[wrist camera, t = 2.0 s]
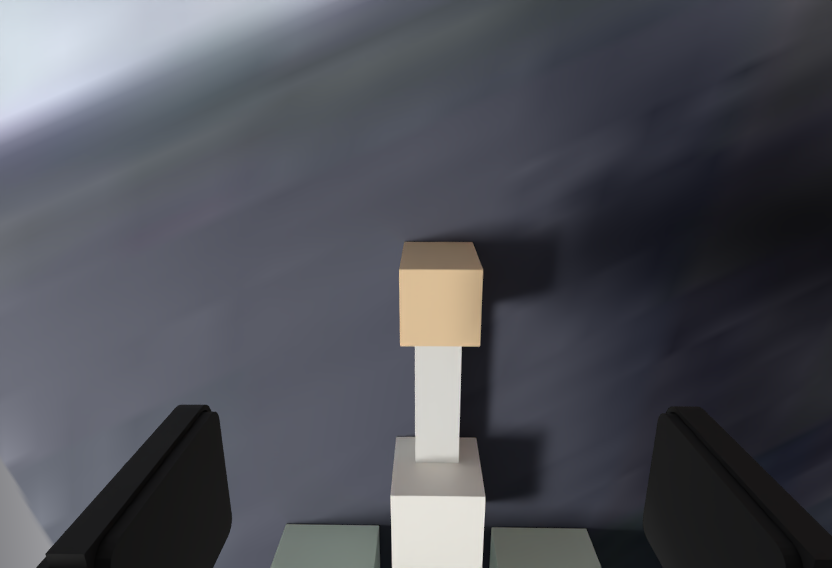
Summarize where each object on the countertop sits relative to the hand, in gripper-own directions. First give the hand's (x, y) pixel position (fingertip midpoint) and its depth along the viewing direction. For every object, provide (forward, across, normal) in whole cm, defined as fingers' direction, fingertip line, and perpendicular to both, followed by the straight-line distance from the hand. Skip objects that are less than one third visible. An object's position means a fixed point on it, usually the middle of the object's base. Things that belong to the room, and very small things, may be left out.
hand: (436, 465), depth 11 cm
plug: (+13, 0, +5) cm, 14 cm away
